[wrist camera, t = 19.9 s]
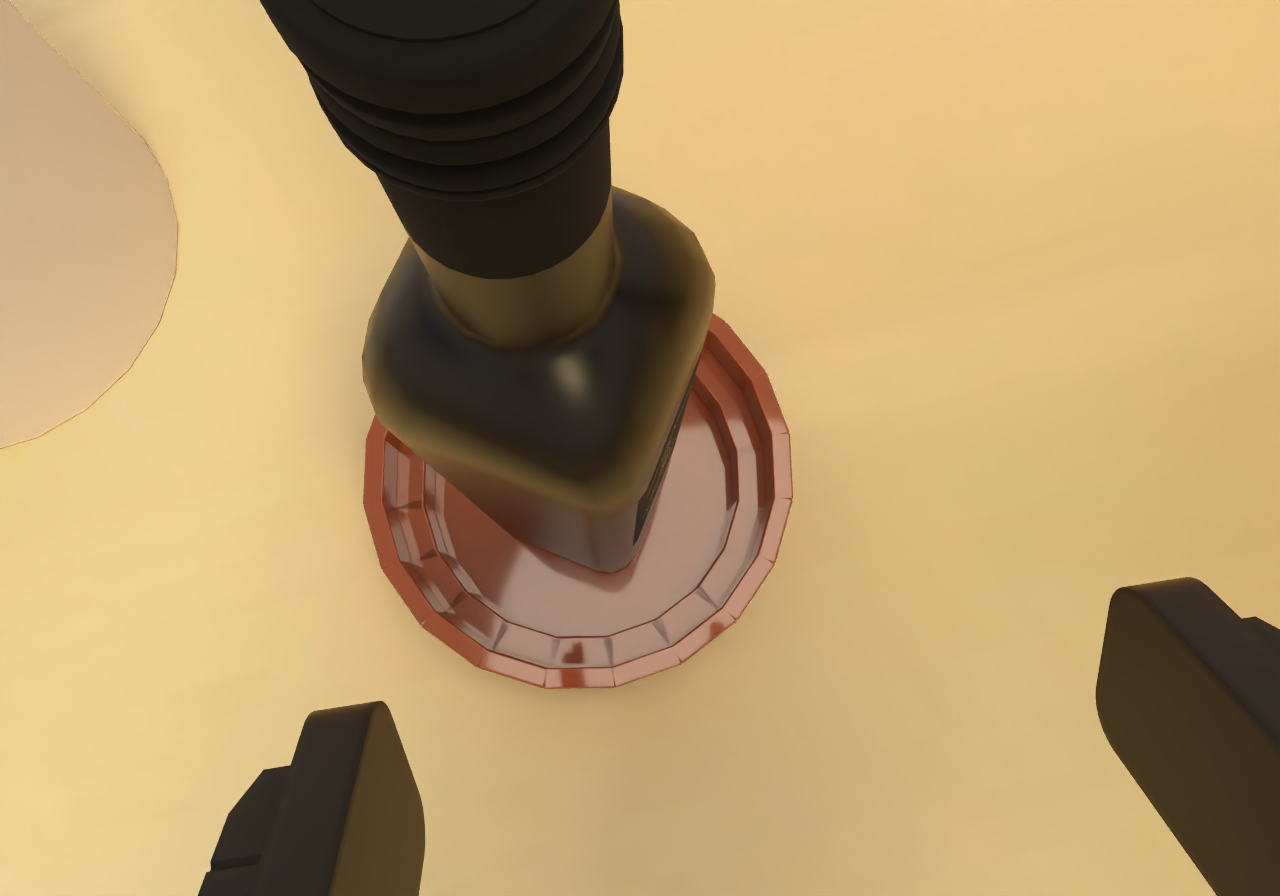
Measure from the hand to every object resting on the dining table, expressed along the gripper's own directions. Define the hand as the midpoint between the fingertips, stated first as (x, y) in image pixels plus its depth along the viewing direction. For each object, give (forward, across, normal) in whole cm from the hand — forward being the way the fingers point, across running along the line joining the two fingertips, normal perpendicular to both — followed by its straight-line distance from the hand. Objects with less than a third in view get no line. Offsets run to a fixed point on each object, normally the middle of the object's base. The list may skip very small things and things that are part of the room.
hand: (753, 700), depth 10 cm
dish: (+24, +3, +12) cm, 27 cm away
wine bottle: (+24, +3, +11) cm, 27 cm away
